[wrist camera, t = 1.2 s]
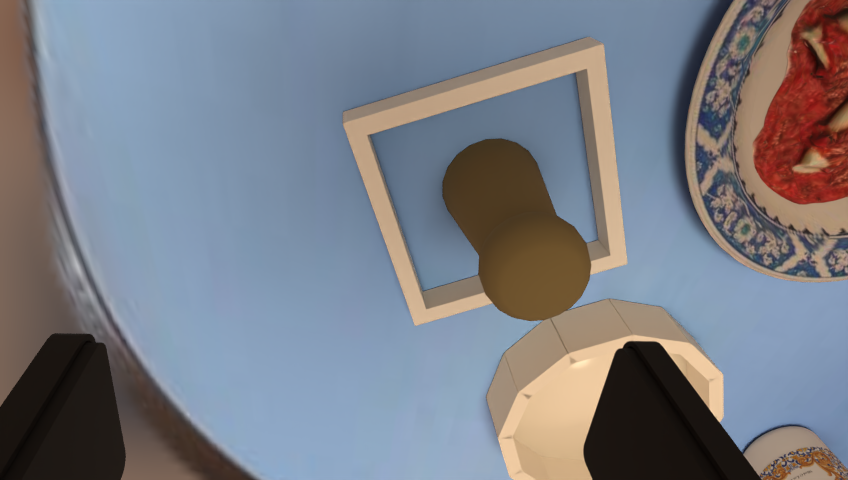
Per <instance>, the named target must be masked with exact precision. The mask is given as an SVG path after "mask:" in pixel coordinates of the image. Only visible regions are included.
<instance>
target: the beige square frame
mask: <svg viewBox="0 0 848 480" xmlns="http://www.w3.org/2000/svg"><path fill="white" fill-rule="evenodd" d="M574 72H576V78H577V86H578V93H579V100H580V108H581V115H582V122H583V130H584V137H585V144H586V152H587V159H588V166H589V174H590V181H591V188H592V196H593V203H594V210H595V218H596V225H597V233H598V240H597V241H593V242H590V243H586V244H587V247H588V252H589V256H590V261H591V271H590V275H591V274H595V273H598V272H601V271H605V270H608V269H612V268H615V267H619V266H622V265H625V264H627V255H626V246H625V237H624V228H623V218H622V209H621V200H620V191H619V182H618V172H617V163H616V154H615V145H614V136H613V126H612V117H611V108H610V99H609V90H608V80H607V71H606V62H605V53H604V44H603V43H601V42H599V41H597V40H595V39H593V38H591V37H586V38H583V39H580V40H577V41H573V42H570V43H567V44H563V45H560V46H557V47H554V48H550V49H547V50H544V51H541V52H537V53H534V54H531V55H528V56H524V57H521V58H518V59H514V60H511V61H508V62H505V63H501V64H498V65H495V66H492V67H488V68H485V69H482V70H478V71H475V72H472V73H469V74H465V75H462V76H459V77H456V78H452V79H449V80H446V81H442V82H439V83H436V84H433V85H429V86H426V87H423V88H420V89H416V90H413V91H410V92H407V93H403V94H400V95H397V96H393V97H390V98H387V99H384V100H380V101H377V102H374V103H371V104H367V105H364V106H361V107H357V108H354V109H351V110H348V111H344V112H343V126H344V129H345V131H346V134H347V137H348V140H349V142H350V145H351V148H352V151H353V154H354V156H355V159H356V162H357V165H358V168H359V170H360V173H361V176H362V179H363V181H364V184H365V187H366V190H367V193H368V195H369V198H370V201H371V204H372V207H373V209H374V212H375V215H376V218H377V221H378V223H379V226H380V229H381V232H382V234H383V237H384V240H385V243H386V246H387V248H388V251H389V254H390V257H391V260H392V262H393V265H394V268H395V271H396V273H397V276H398V279H399V282H400V285H401V287H402V290H403V293H404V296H405V299H406V301H407V304H408V307H409V310H410V313H411V315H412V318H413V321H414V324H415V326H416V325H420V324H423V323H427V322H430V321H434V320H437V319H440V318H444V317H447V316H451V315H454V314H458V313H461V312H464V311H468V310H471V309H475V308H478V307H482V306H485V305H488V304H492V302H491V300H490V299H489V298H488V297H487V296H486V295H485V292H484V289H483V286H482V284H481V281H480V278H479V275H477V276H474V277H471V278H467V279H464V280H460V281H457V282H454V283H450V284H447V285H443V286H440V287H437V288H433V289H430V290H426V291H422V288H421V285H420V282H419V279H418V276H417V273H416V271H415V268H414V265H413V262H412V259H411V256H410V253H409V250H408V247H407V244H406V241H405V238H404V235H403V232H402V229H401V226H400V223H399V220H398V217H397V214H396V211H395V208H394V205H393V202H392V199H391V196H390V193H389V190H388V187H387V185H386V182H385V179H384V176H383V173H382V170H381V167H380V164H379V161H378V158H377V155H376V152H375V149H374V146H373V143H372V140H371V137H370V134H373V133H377V132H380V131H383V130H387V129H390V128H393V127H397V126H400V125H403V124H406V123H410V122H413V121H416V120H420V119H423V118H426V117H429V116H433V115H436V114H439V113H443V112H446V111H449V110H452V109H456V108H459V107H462V106H466V105H469V104H472V103H475V102H479V101H482V100H485V99H489V98H492V97H495V96H499V95H502V94H505V93H508V92H512V91H515V90H518V89H522V88H525V87H528V86H531V85H535V84H538V83H541V82H545V81H548V80H551V79H554V78H558V77H561V76H564V75H568V74H571V73H574Z"/></svg>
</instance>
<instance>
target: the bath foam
mask: <svg viewBox="0 0 848 480" xmlns="http://www.w3.org/2000/svg"><path fill="white" fill-rule="evenodd" d="M743 455H744V456H745V458H746V459H747V460H748V462H749V463H750V464H751V466H752V467H753V469H754V470H755V471H756V473H757V474H758V475H759V477H760V478H761V479H762V480H848V469H847V468H846V467H845V466H844V465H843V464H842V463H841V462H840V460H839V459H838V458H837V457H836V456H835V455H834V454H833V453H832V452H831V451H830V450H829V448H828V447H827V446H826V445H825V444H824V443H823V442H822V441H821V440H820V438H819V437H818V436H817V435H816V434H815V433H813V432H812V431H811V430H809V429H806V428H803V427H798V426H788V427H782V428H778V429H775V430H772V431H770V432H768V433H766V434H764V435H762V436H761V437H759V438H758V439H756V440H755V441H754V442H753V443H752V444H751V445H750V446H749V447H748V448H747V449H746V451H745V453H744V454H743Z"/></svg>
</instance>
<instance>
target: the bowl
mask: <svg viewBox="0 0 848 480" xmlns="http://www.w3.org/2000/svg"><path fill="white" fill-rule="evenodd" d="M628 341H656V342H659V343H660V344H661V345H662V346H663V347H664V349H665V350H666V351H667V353H668V354H669V355H670V357H671V358H672V359H673V361H674V362H675V363H676V365H677V366H678V368H679V369H680V370H681V372H682V373H683V374H684V376H685V377H686V378H687V380H688V381H689V382H690V384H691V385H692V386H693V388H694V389H695V390H696V392H697V393H698V394H699V396H700V397H701V398H702V400H703V401H704V403H705V404H706V405H707V407H708V408H709V409H710V411H711V412H712V413H713V415H714V416H715V417H716V419H717V420H718V421H719V423H720V421H721V420H722V418H723V374H722V373H721V371H720V370H719V369H718V368H717V366H716V365H715V364H714V363H713V362H712V360H711V359H710V358H709V357H708V355H707V354H706V353H705V352H704V350H703V349H702V348H701V347H700V346H699V344H698V343H697V342H696V341H695V339H694V338H693V337H692V336H691V335H690V334H689V333H688V332H687V331H686V330H685V329H684V328H683V327H682V326H681V325H680V324H679V323H678V322H677V321H676V320H675V319H674V318H673V317H672V316H671V315H670V314H669V313H668V312H666V311H665V310H664V309H663V308H662V307H658V306H651V305H645V304H639V303H633V302H627V301H620V300H614V299H609V300H608V299H605V300H602V301H598V302H595V303H592V304H588V305H585V306H581V307H578V308H574V309H571V310H567V311H564V312H563V313H561V314H560V315H558V316H555V317H552V318H549V319H546V320H543V321H542V322H541V323H540V324H539V325H537V326H536V327H535V328H534V329H532V330H531V331H530V332H529V333H528V334H526V335H525V336H524V337H523V338H522V339H520V340H519V341H518V342H517V343H515V344H514V345H513V346H512V347H511V348H509V349H508V350H507V351H506V352H504V354H503V356H502V359H501V361H500V364H499V366H498V369H497V371H496V374H495V376H494V379H493V381H492V383H491V386H490V388H489V391H488V393H487V396H486V398H487V402H488V405H489V409H490V412H491V416H492V419H493V423H494V426H495V430H496V433H497V437H498V440H499V443H500V447H501V450H502V453H503V456H504V460H505V463H506V466H507V470H508V473H509V476H510V477H511V478H512V479H514V480H592V477H591V475H590V473H589V471H588V468H587V466H586V463H585V460H584V455H583V447H584V442H585V440H586V437H587V434H588V431H589V428H590V425H591V422H592V419H593V416H594V413H595V410H596V407H597V404H598V401H599V398H600V395H601V392H602V389H603V386H604V384H605V381H606V378H607V375H608V372H609V369H610V366H611V363H612V360H613V357H614V354H615V352H616V350H617V349H620V348H623V346H624V344H625V343H626V342H628Z"/></svg>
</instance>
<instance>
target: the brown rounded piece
mask: <svg viewBox="0 0 848 480" xmlns="http://www.w3.org/2000/svg"><path fill="white" fill-rule="evenodd" d="M443 199H444V202H445V204H446V207H447V210H448V211H449V213H450V214H451V215H452V217H453V218H454V220H455V221H456V223H457V224H458V226H459V227H460V229H461V230H462V231H463V233H464V234H465V236H466V237H467V239H468V240H469V242H470V243H471V245H472V246H473V247H474V249H475V250H476V252H477V253H478V255H479V271H478V275H479V278H480V281H481V284H482V286H483V289H484V292H485V295H486V296H487V297H488V298H489V299H490V300H491V302H492V303H493V304H494V305H495V306H496V307H497V308H498V309H499V310H500V311H502V312H504V313H505V314H507V315H509V316H511V317H514V318H517V319H523V320H528V321H537V320H546V319H549V318H552V317H555V316H558V315H560V314H561V313H563V312H564V311H566V310H568V309H569V308H571V307H572V306H573V305H574V304H575V303H576V302H577V301H578V299H579V298H580V297H581V296H582V294H583V292H584V290H585V288H586V286H587V284H588V281H589V278H590V271H591V261H590V256H589V252H588V247H587V244H586V242H585V241H584V240H583V238H582V237H581V235H580V234H579V233H578V231H577V230H576V229H575V227H574V226H572V225H571V224H569V223H568V222H566V221H565V220H563V219H562V218H560V217H558V216H557V215H556V212H555V210H554V207H553V204H552V202H551V199H550V196H549V194H548V191H547V189H546V186H545V183H544V181H543V178H542V175H541V173H540V170H539V168H538V165H537V162H536V161H535V160H534V158H533V157H532V155H531V154H530V152H529V151H528V150H526V149H525V148H523V147H522V146H521V145H519V144H518V143H516V142H512V141H508V140H505V139H486V140H483V141H480V142H477V143H475V144H472V145H470V146H468V147H467V148H466V149H464V150H463V151H462V152H460V153H459V154H458V155H457V156H456V157H455V158H454V160H453V161H452V162H451V164H450V165H449V166H448V168H447V171H446V174H445V176H444V179H443Z"/></svg>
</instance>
